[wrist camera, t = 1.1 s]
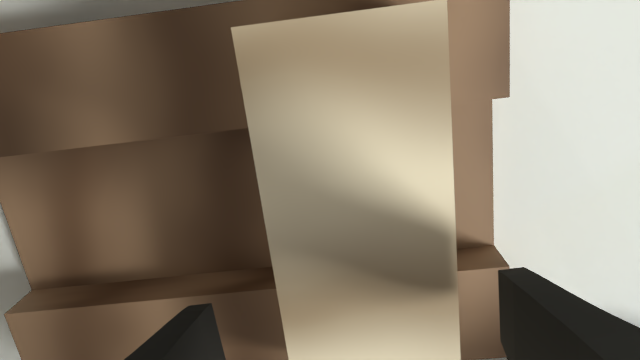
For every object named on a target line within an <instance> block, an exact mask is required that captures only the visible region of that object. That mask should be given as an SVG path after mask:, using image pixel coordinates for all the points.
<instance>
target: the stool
mask: <svg viewBox="0 0 640 360" xmlns="http://www.w3.org/2000/svg"><path fill="white" fill-rule="evenodd" d="M231 31H232V37H233V43H234V48H235V54H236V60H237V66H238V71H239V77H240V83H241V89H242V94H243V100H244V106H245V112H246V117H247V123H248V129H249V135H250V140H251V146H252V152H253V158H254V163H255V169H256V175H257V181H258V186H259V192H260V198H261V204H262V209H263V215H264V221H265V227H266V232H267V238H268V244H269V250H270V255H271V261H272V267H273V273H274V278H275V284H276V290H277V296H278V301H279V307H280V313H281V318H282V324H283V330H284V336H285V341H286V347H287V353H288V359H289V360H461V353H460V327H459V300H458V274H457V248H456V222H455V196H454V169H453V143H452V117H451V91H450V65H449V38H448V12H447V0H434V1H426V2H418V3H411V4H403V5H396V6H388V7H381V8H373V9H366V10H358V11H351V12H343V13H336V14H328V15H321V16H313V17H305V18H298V19H290V20H283V21H275V22H268V23H260V24H253V25H245V26H238V27H231Z"/></svg>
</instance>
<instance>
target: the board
mask: <svg viewBox="0 0 640 360" xmlns="http://www.w3.org/2000/svg"><path fill="white" fill-rule="evenodd" d="M426 1H434V0H241V1H234V2H227V3H219V4H212V5H205V6H197V7H190V8H183V9H175V10H168V11H161V12H153V13H146V14H139V15H131V16H124V17H117V18H109V19H102V20H95V21H87V22H80V23H73V24H65V25H58V26H51V27H43V28H36V29H29V30H21V31H14V32H7V33H0V202H1V205H2V208H3V211H4V214H5V216H6V219H7V222H8V225H9V228H10V230H11V233H12V236H13V239H14V242H15V244H16V247H17V250H18V253H19V256H20V258H21V261H22V264H23V267H24V270H25V272H26V275H27V278H28V281H29V284H30V286H31V289H32V291H30V292H29V293H28V294H27V295H26V296H25V297H24V298H22V299H21V300H20V301H19V302H18V303H17V304H16V305H14V306H13V307H12V308H11V309H10V310H9V311H7V312H6V313H5V314H4V315H5V318H6V321H7V323H8V326H9V328H10V331H11V334H12V336H13V339H14V341H15V344H16V347H17V349H18V352H19V354H20V357H21V360H124V359H125V358H126V357H128V356H129V355H130V354H131V353H133V352H134V351H135V350H136V349H137V348H138V347H140V346H141V345H142V344H143V343H144V342H145V341H147V340H148V339H149V338H150V337H151V336H152V335H154V334H155V333H156V332H157V331H158V330H159V329H161V328H162V327H163V326H164V325H165V324H166V323H167V322H169V321H170V320H171V319H172V318H173V317H175V316H176V315H177V314H178V313H179V312H181V311H182V310H183V309H185V308H186V307H187V306H190V305H199V304H207V303H212V307H213V311H214V315H215V319H216V323H217V327H218V331H219V335H220V339H221V342H222V346H223V350H224V354H225V358H226V360H289V359H288V353H287V347H286V341H285V336H284V330H283V324H282V318H281V313H280V307H279V301H278V296H277V290H276V284H275V278H274V273H273V267H272V261H271V255H270V250H269V244H268V238H267V232H266V227H265V221H264V215H263V209H262V204H261V198H260V192H259V186H258V181H257V175H256V169H255V163H254V158H253V152H252V146H251V140H250V135H249V129H248V123H247V117H246V112H245V106H244V100H243V94H242V89H241V83H240V77H239V71H238V66H237V60H236V54H235V48H234V43H233V37H232V31H231V27H238V26H245V25H253V24H260V23H268V22H275V21H283V20H290V19H298V18H305V17H313V16H321V15H328V14H336V13H343V12H351V11H358V10H366V9H373V8H381V7H388V6H396V5H403V4H411V3H418V2H426ZM447 12H448V38H449V65H450V91H451V117H452V143H453V169H454V196H455V222H456V248H457V274H458V300H459V327H460V353H461V360H478V359H490V358H502V357H507V356H506V354H505V351H504V349H503V346H502V344H501V341H500V315H499V286H498V270H504V269H509V265H508V264H507V262H506V261H505V260H504V258H503V257H502V256H501V254H500V253H499V252H498V250H497V249H496V248H495V246H494V229H493V140H492V99H497V98H506V97H510V0H447Z"/></svg>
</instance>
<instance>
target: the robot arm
mask: <svg viewBox="0 0 640 360" xmlns="http://www.w3.org/2000/svg"><path fill="white" fill-rule="evenodd" d="M498 286H499V315H500V341H501V344H502V346H503V349H504V351H505V354H506V356H507V359H508V360H640V328H639V327H637V326H634V325H632V324H630V323H628V322H626V321H624V320H622V319H620V318H618V317H616V316H613V315H611V314H609V313H607V312H605V311H604V310H602V309H600V308H598V307H596V306H594V305H592V304H590V303H588V302H586V301H584V300H583V299H581V298H579V297H577V296H575V295H573V294H572V293H570V292H568V291H566V290H564V289H563V288H561V287H559V286H557V285H556V284H554V283H552V282H550V281H549V280H547V279H545V278H543V277H541V276H540V275H538V274H536V273H534V272H532V271H530V270H528V269H526V268H524V267H522V268H513V269H504V270H498ZM124 360H226V358H225V354H224V350H223V346H222V342H221V339H220V335H219V331H218V327H217V323H216V319H215V315H214V311H213V307H212V303H207V304H199V305H190V306H187V307H186V308H185V309H183V310H182V311H181V312H179V313H178V314H177V315H176V316H175V317H173V318H172V319H171V320H170V321H169V322H167V323H166V324H165V325H164V326H163V327H162V328H161V329H159V330H158V331H157V332H156V333H155V334H154V335H152V336H151V337H150V338H149V339H148V340H147V341H145V342H144V343H143V344H142V345H141V346H140V347H138V348H137V349H136V350H135V351H134V352H133V353H131V354H130V355H129V356H128V357H126V358H125V359H124Z"/></svg>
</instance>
